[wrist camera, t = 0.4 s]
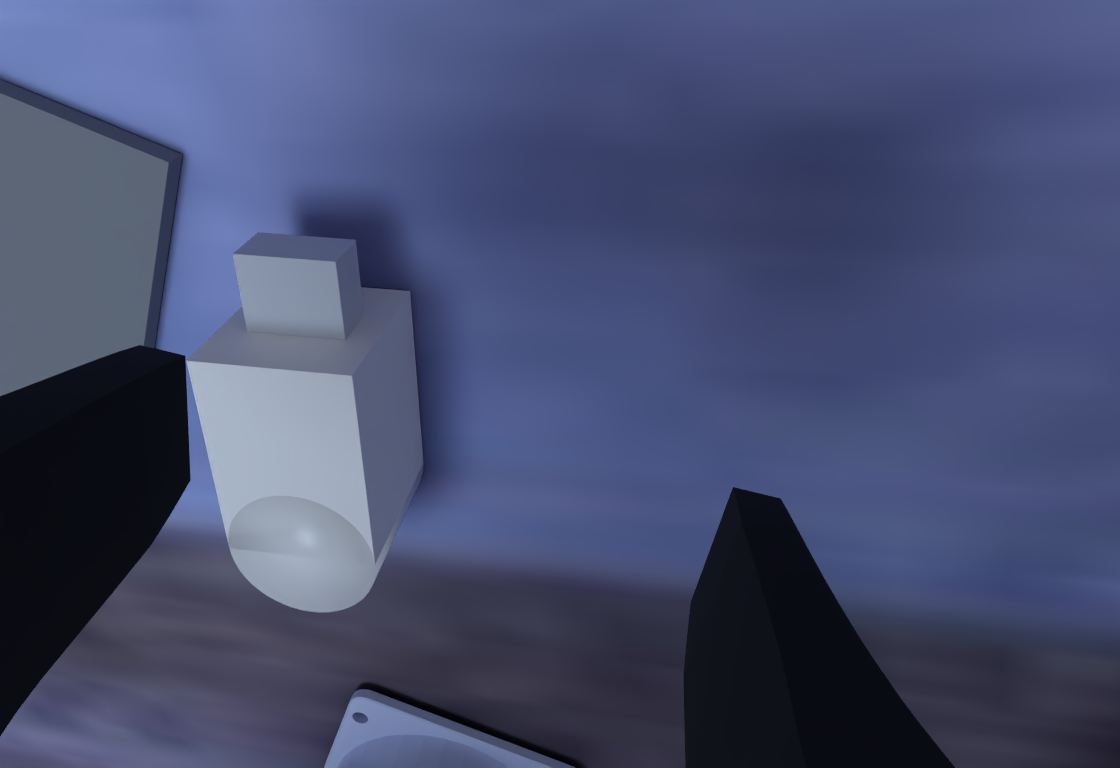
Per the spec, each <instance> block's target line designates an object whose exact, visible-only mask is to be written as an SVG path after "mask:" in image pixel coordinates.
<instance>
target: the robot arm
mask: <svg viewBox="0 0 1120 768" xmlns="http://www.w3.org/2000/svg"><path fill="white" fill-rule="evenodd" d="M189 482H190V459H189V435H188V412H187V388H186V364H185V356H184V355H180V354H175V353H171V352H167V351H163V350H159V349H155V348H150V347H146V346H142V345H138V346H135V347H132V348H128V349H125V350H122V351H119V352H116V353H113V354H110V355H107V356H105V357H102V358H99V359H96V360H94V361H91V362H88V363H86V364H83V365H81V366H78V367H75V368H73V369H70V370H67V371H65V372H62V373H60V374H57V375H55V376H52V377H49V378H47V379H44V380H42V381H39V382H36V383H34V384H31V385H28V386H26V387H23V388H21V389H18V390H15V391H13V392H10V393H7V394H5V395H2V396H0V736H1V734H2V733H3V731H4V730H5V728H6V727H7V725H8V724H9V722H10V721H11V719H12V718H13V716H14V715H15V713H16V712H17V711H18V709H19V708H20V707H21V705H22V704H23V703H24V701H25V700H26V699H27V697H28V696H29V695H30V693H31V692H32V691H33V689H34V688H35V687H36V685H37V684H38V683H39V681H40V680H41V679H42V678H43V676H44V675H45V674H46V673H47V672H48V670H49V669H50V668H51V667H52V665H53V664H54V663H55V662H56V661H57V659H58V658H59V657H60V656H61V655H62V653H63V652H64V651H65V650H66V648H67V647H68V646H69V645H70V644H71V642H72V641H73V640H74V639H75V638H76V636H77V635H78V634H79V633H80V631H81V630H82V629H83V628H84V627H85V625H86V624H87V623H88V622H89V621H90V619H91V618H92V617H93V616H94V615H95V613H96V612H97V611H98V610H99V608H100V607H101V606H102V605H103V604H104V602H105V601H106V600H107V599H108V598H109V596H110V595H111V594H112V593H113V591H114V590H115V589H116V588H117V587H118V585H119V584H120V583H121V582H122V580H123V579H124V578H125V577H126V575H127V574H128V573H129V572H130V570H131V569H132V568H133V567H134V565H135V564H136V563H137V562H138V561H139V559H140V558H141V557H142V556H143V554H144V553H145V552H146V550H147V549H148V548H149V547H150V545H151V544H152V543H153V541H154V540H155V538H156V536H157V535H158V533H159V532H160V530H161V529H162V527H163V525H164V524H165V522H166V521H167V519H168V517H169V516H170V514H171V513H172V511H173V509H174V507H175V506H176V504H177V502H178V501H179V499H180V497H181V495H182V494H183V492H184V490H185V489H186V487H187V485H188V483H189ZM684 716H685V758H686V768H955V767H954V766H953V765H952V763H951V762H950V761H949V760H948V758H947V757H946V756H945V755H944V753H943V752H942V751H941V750H940V748H939V747H938V746H937V745H936V743H935V742H934V741H933V740H932V738H931V737H930V736H929V735H928V733H927V732H926V731H925V730H924V728H923V727H922V726H921V725H920V723H919V722H918V721H917V720H916V718H915V717H914V716H913V714H912V713H911V711H910V710H909V709H908V707H907V706H906V705H905V703H904V702H903V701H902V699H901V698H900V697H899V695H898V694H897V692H896V691H895V690H894V688H893V687H892V685H891V684H890V682H889V681H888V679H887V678H886V676H885V675H884V674H883V672H882V671H881V669H880V668H879V666H878V665H877V663H876V662H875V660H874V659H873V658H872V656H871V655H870V653H869V652H868V650H867V649H866V647H865V645H864V644H863V642H862V641H861V639H860V638H859V636H858V634H857V633H856V631H855V629H854V628H853V626H852V624H851V623H850V621H849V619H848V618H847V616H846V614H845V613H844V611H843V609H842V608H841V606H840V604H839V603H838V601H837V600H836V598H835V596H834V594H833V593H832V591H831V589H830V587H829V586H828V584H827V582H826V580H825V579H824V577H823V575H822V573H821V572H820V570H819V568H818V566H817V564H816V562H815V561H814V559H813V557H812V555H811V553H810V552H809V550H808V548H807V546H806V544H805V542H804V540H803V539H802V537H801V535H800V533H799V531H798V529H797V527H796V525H795V524H794V522H793V520H792V518H791V516H790V514H789V513H788V511H787V509H786V507H785V505H784V504H783V502H782V500H781V499H780V498H776V497H772V496H767V495H763V494H759V493H755V492H751V491H747V490H742V489H738V488H734V487H733V489H732V492H731V494H730V497H729V500H728V503H727V505H726V508H725V511H724V514H723V516H722V519H721V522H720V524H719V527H718V530H717V533H716V535H715V538H714V541H713V543H712V546H711V549H710V552H709V554H708V557H707V560H706V563H705V565H704V568H703V571H702V573H701V576H700V579H699V582H698V584H697V587H696V590H695V592H694V595H693V598H692V601H691V606H690V615H689V625H688V634H687V644H686V655H685V666H684ZM324 768H576V767H574V766H571V765H568V764H566V763H563V762H560V761H558V760H555V759H552V758H550V757H547V756H544V755H542V754H539V753H536V752H534V751H531V750H528V749H526V748H523V747H520V746H518V745H515V744H512V743H510V742H507V741H504V740H502V739H499V738H497V737H494V736H491V735H489V734H486V733H483V732H481V731H478V730H475V729H473V728H470V727H467V726H465V725H462V724H459V723H457V722H454V721H451V720H449V719H446V718H443V717H441V716H438V715H435V714H433V713H430V712H427V711H425V710H422V709H419V708H417V707H414V706H412V705H409V704H406V703H404V702H401V701H398V700H396V699H393V698H390V697H388V696H385V695H382V694H380V693H377V692H374V691H372V690H368V689H360V690H357V691H355V692H354V694H353V695H352V697H351V700H350V702H349V705H348V707H347V710H346V712H345V715H344V717H343V720H342V723H341V725H340V728H339V730H338V733H337V735H336V738H335V740H334V743H333V746H332V748H331V751H330V753H329V756H328V758H327V761H326V763H325V766H324Z"/></svg>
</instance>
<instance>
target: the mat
mask: <svg viewBox="0 0 1120 768" xmlns="http://www.w3.org/2000/svg"><path fill="white" fill-rule="evenodd" d="M181 161H182V154H180V153H178V152H175V151H173V150H170V149H168V148H165V147H163V146H161V145H158V144H156V143H153V142H151V141H149V140H146V139H144V138H141V137H139V136H136V135H134V134H132V133H129V132H127V131H124V130H122V129H119V128H117V127H115V126H112V125H110V124H107V123H105V122H102V121H100V120H98V119H95V118H93V117H90V116H88V115H86V114H83V113H81V112H78V111H76V110H73V109H71V108H69V107H66V106H64V105H61V104H59V103H56V102H54V101H52V100H49V99H47V98H44V97H42V96H40V95H37V94H35V93H32V92H30V91H27V90H25V89H23V88H20V87H18V86H15V85H13V84H10V83H8V82H6V81H3V80H1V79H0V396H2V395H5V394H7V393H10V392H13V391H15V390H18V389H21V388H23V387H26V386H28V385H31V384H34V383H36V382H39V381H42V380H44V379H47V378H49V377H52V376H55V375H57V374H60V373H62V372H65V371H67V370H70V369H73V368H75V367H78V366H81V365H83V364H86V363H88V362H91V361H94V360H96V359H99V358H102V357H105V356H107V355H110V354H113V353H116V352H119V351H122V350H125V349H128V348H132V347H135V346H138V345H142V346H146V347H150V348H155V341H156V334H157V327H158V320H159V313H160V306H161V299H162V293H163V286H164V279H165V272H166V265H167V258H168V251H169V244H170V237H171V230H172V223H173V216H174V210H175V203H176V196H177V189H178V182H179V175H180V168H181Z"/></svg>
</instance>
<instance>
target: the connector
mask: <svg viewBox="0 0 1120 768" xmlns="http://www.w3.org/2000/svg"><path fill="white" fill-rule="evenodd" d="M233 258H234V263H235V269H236V274H237V280H238V285H239V290H240V296H241V301H242V307H241V308H240V309H239V310H238V311H237V312H236V313H235V314H234V315H233V316H232V317H231V318H230V319H229V320H228V321H227V322H226V323H225V324H224V325H223V326H222V327H221V328H219V329H218V330H217V331H216V332H215V333H214V334H213V335H212V336H211V337H210V338H209V339H208V340H207V341H206V342H205V343H204V344H203V345H202V346H201V347H200V348H199V349H198V350H197V351H196V352H195V353H194V354H193V355H192V356H191V357H190V358H189V359H188V360H187V366H188V370H189V374H190V379H191V383H192V387H193V392H194V396H195V400H196V405H197V409H198V413H199V418H200V422H201V426H202V431H203V435H204V439H205V444H206V448H207V453H208V457H209V461H210V466H211V470H212V474H213V479H214V483H215V487H216V492H217V496H218V500H219V505H220V509H221V513H222V518H223V522H224V526H225V531H226V535H227V539H228V544H229V548H230V551H231V555H232V557H233V559H234V561H235V563H236V565H237V567H238V568H239V570H240V571H241V572H242V574H243V575H244V576H245V577H246V579H247V580H248V581H249V582H250V583H251V584H252V585H254V586H255V587H256V588H257V589H258V590H260V591H261V592H263V593H264V594H265V595H267V596H269V597H270V598H272V599H274V600H276V601H278V602H280V603H282V604H284V605H287V606H290V607H293V608H296V609H300V610H305V611H310V612H333V611H339V610H343V609H346V608H349V607H351V606H353V605H355V604H356V603H358V602H359V601H361V600H362V599H363V598H364V597H365V596H366V595H367V594H368V592H369V591H370V589H371V587H372V585H373V583H374V581H375V579H376V577H377V574H378V572H379V570H380V568H381V566H382V564H383V561H384V559H385V557H386V555H387V553H388V551H389V548H390V546H391V544H392V542H393V540H394V538H395V535H396V533H397V531H398V529H399V527H400V525H401V523H402V520H403V518H404V516H405V514H406V512H407V510H408V507H409V505H410V503H411V501H412V499H413V497H414V494H415V492H416V490H417V488H418V486H419V484H420V481H421V478H422V475H423V450H422V437H421V425H420V412H419V399H418V386H417V373H416V360H415V348H414V335H413V322H412V309H411V296H410V291H404V290H391V289H378V288H366V287H361V283H360V274H359V265H358V256H357V246H356V240H353V239H340V238H326V237H312V236H298V235H285V234H271V233H257V234H256V235H255V236H253V237H252V238H251V239H250V240H249V241H247V242H246V243H245V244H244V245H243V246H242V247H240V248H239V249H238V250H237V251H236V252H234V253H233Z"/></svg>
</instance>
